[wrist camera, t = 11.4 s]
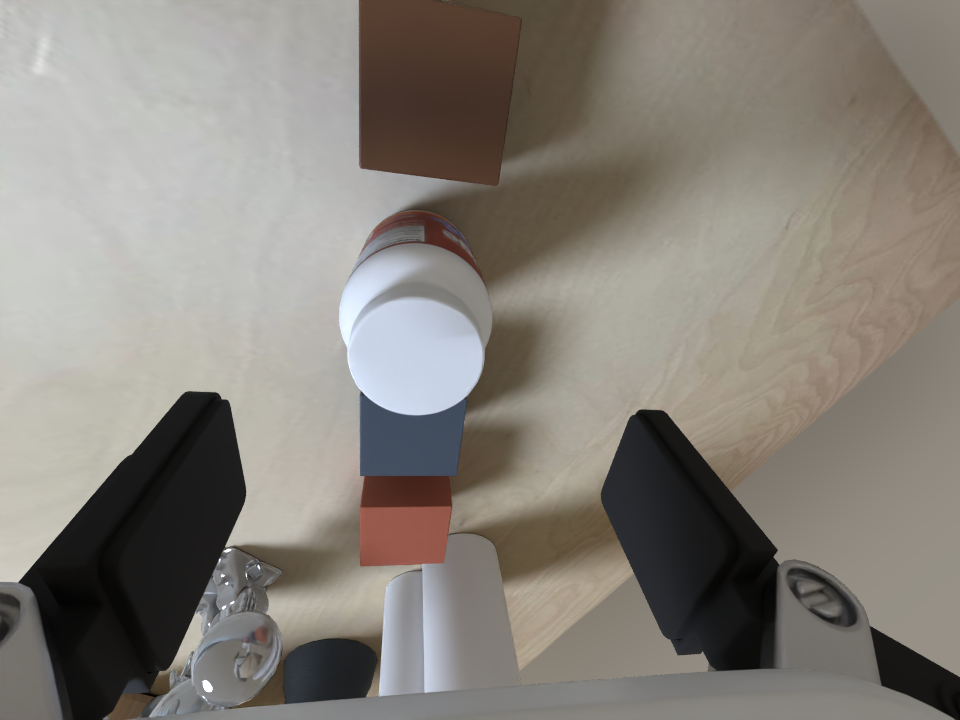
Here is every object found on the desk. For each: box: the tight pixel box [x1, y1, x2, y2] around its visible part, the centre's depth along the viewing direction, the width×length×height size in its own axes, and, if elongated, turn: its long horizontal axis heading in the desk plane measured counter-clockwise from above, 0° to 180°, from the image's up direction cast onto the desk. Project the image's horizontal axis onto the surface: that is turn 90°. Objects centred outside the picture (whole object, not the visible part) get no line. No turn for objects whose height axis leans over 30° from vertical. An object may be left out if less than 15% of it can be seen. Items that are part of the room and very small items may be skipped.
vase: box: [379, 533, 522, 696], centre depth 29 cm, size 11×7×20 cm, turn 140°
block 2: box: [360, 391, 468, 476], centre depth 25 cm, size 6×6×6 cm
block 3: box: [360, 476, 452, 566], centre depth 29 cm, size 6×6×6 cm
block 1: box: [359, 0, 522, 186], centre depth 18 cm, size 6×6×6 cm
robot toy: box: [138, 547, 283, 718], centre depth 28 cm, size 15×6×15 cm, turn 140°
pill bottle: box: [339, 210, 492, 415], centre depth 19 cm, size 6×6×11 cm
